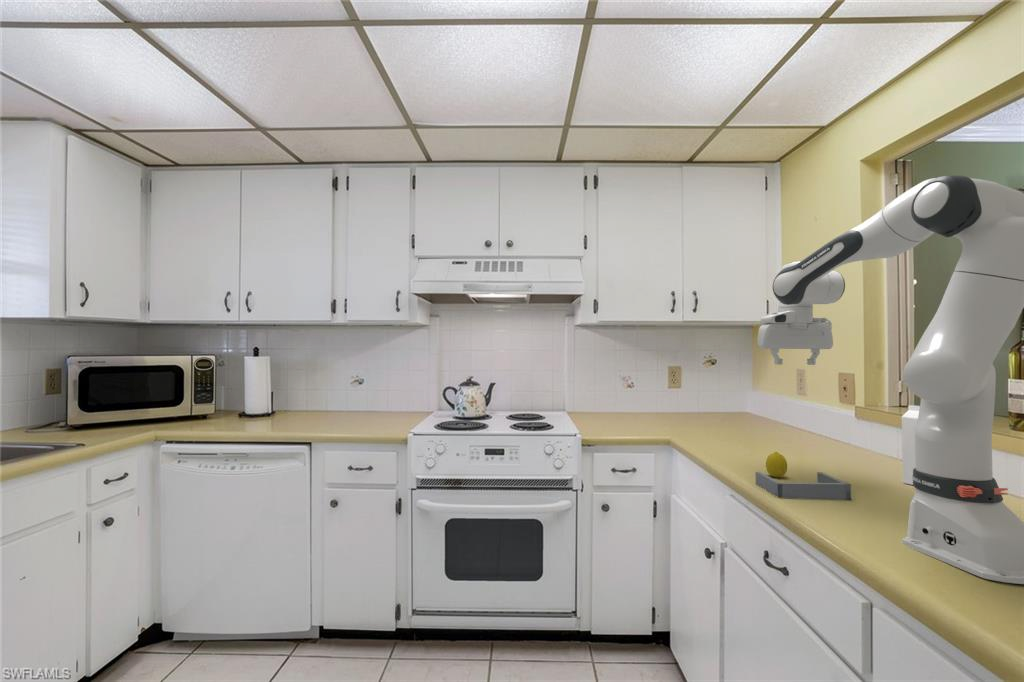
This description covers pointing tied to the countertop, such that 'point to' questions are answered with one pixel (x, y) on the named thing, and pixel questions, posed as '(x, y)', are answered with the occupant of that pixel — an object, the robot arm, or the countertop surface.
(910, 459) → the milk
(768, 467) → the lemon
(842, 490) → the box
